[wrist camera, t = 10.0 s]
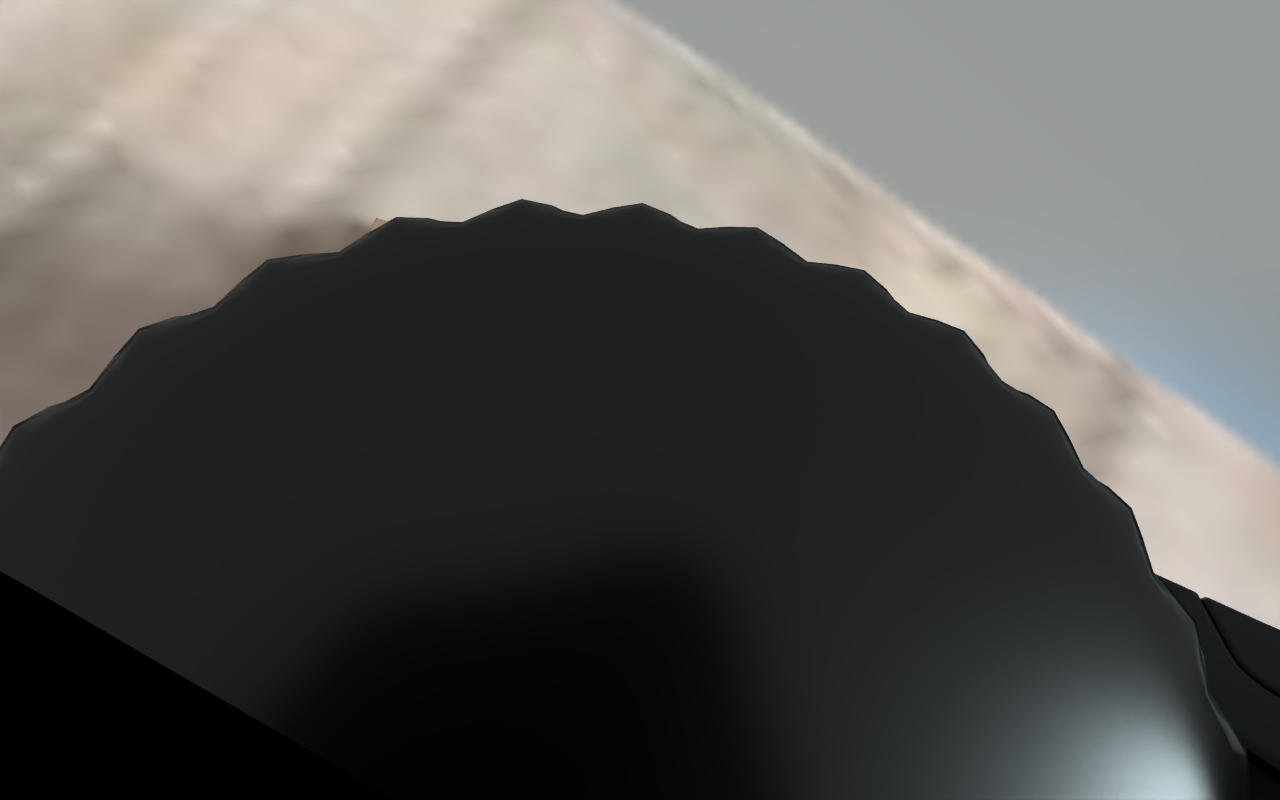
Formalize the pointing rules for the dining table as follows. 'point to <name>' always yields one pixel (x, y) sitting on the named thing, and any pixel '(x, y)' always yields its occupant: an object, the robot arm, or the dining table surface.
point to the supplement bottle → (579, 545)
